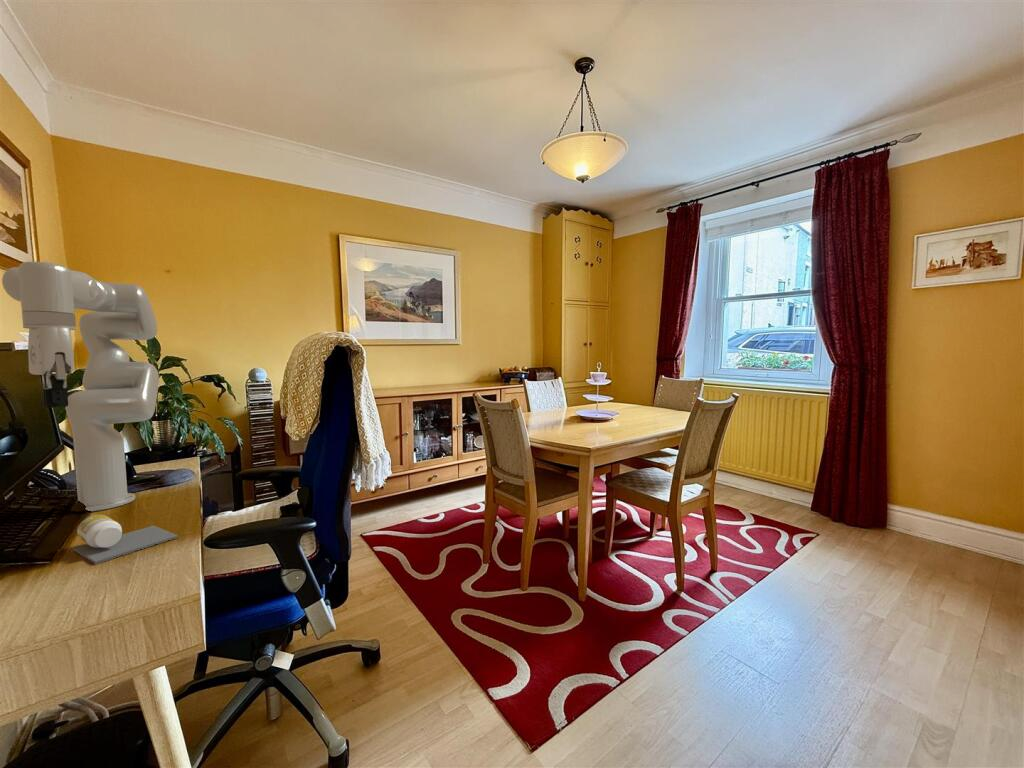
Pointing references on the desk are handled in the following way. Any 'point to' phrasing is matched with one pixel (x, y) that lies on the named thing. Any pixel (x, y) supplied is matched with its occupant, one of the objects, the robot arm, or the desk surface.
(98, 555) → the rubber mat
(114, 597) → the desk surface
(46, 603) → the desk surface
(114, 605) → the desk surface
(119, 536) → the supplement bottle
